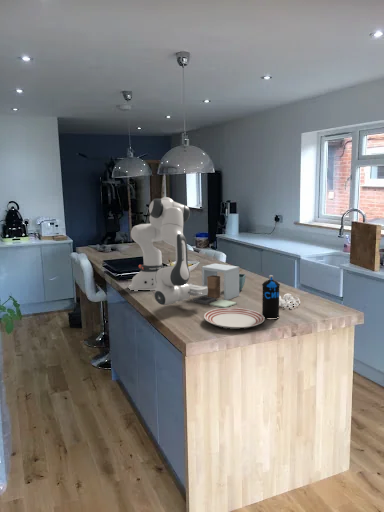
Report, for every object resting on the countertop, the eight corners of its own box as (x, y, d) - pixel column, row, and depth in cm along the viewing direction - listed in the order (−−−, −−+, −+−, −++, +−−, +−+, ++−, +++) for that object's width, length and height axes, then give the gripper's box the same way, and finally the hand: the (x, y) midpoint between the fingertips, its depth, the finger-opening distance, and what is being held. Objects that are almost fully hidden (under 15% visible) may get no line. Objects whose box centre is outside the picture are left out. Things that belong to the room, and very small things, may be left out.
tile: (225, 308, 219) (225, 306, 219) (209, 304, 226) (209, 303, 225) (236, 303, 226) (236, 302, 226) (221, 300, 233) (221, 299, 233)
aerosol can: (259, 314, 208) (260, 274, 204) (276, 314, 208) (277, 273, 205) (264, 320, 200) (264, 277, 196) (281, 319, 200) (282, 277, 197)
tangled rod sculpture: (304, 312, 215) (305, 304, 214) (274, 310, 216) (275, 302, 215) (296, 300, 234) (297, 293, 233) (269, 298, 234) (270, 291, 234)
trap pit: (205, 304, 227) (205, 302, 227) (192, 301, 233) (192, 299, 233) (216, 300, 233) (216, 298, 233) (203, 297, 239) (203, 295, 239)
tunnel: (226, 300, 233) (226, 270, 231) (202, 295, 245) (201, 266, 242) (239, 295, 242) (239, 266, 239) (215, 291, 253) (215, 263, 250)
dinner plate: (266, 315, 208) (266, 308, 207) (262, 335, 181) (262, 327, 181) (209, 312, 214) (209, 305, 213) (198, 331, 187) (198, 323, 187)
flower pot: (245, 288, 257) (245, 274, 256) (242, 292, 249) (242, 277, 248) (231, 287, 260) (231, 273, 259) (227, 291, 252) (227, 276, 250)
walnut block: (214, 299, 236) (214, 278, 233) (207, 298, 239) (207, 276, 237) (220, 297, 239) (220, 276, 237) (213, 296, 242) (213, 275, 240)
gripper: (197, 288, 211) (215, 282, 221) (167, 282, 224) (185, 278, 234) (197, 300, 212) (215, 294, 222) (167, 294, 225) (185, 289, 235)
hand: (199, 286), depth 228 cm, fingers open, 8 cm apart
